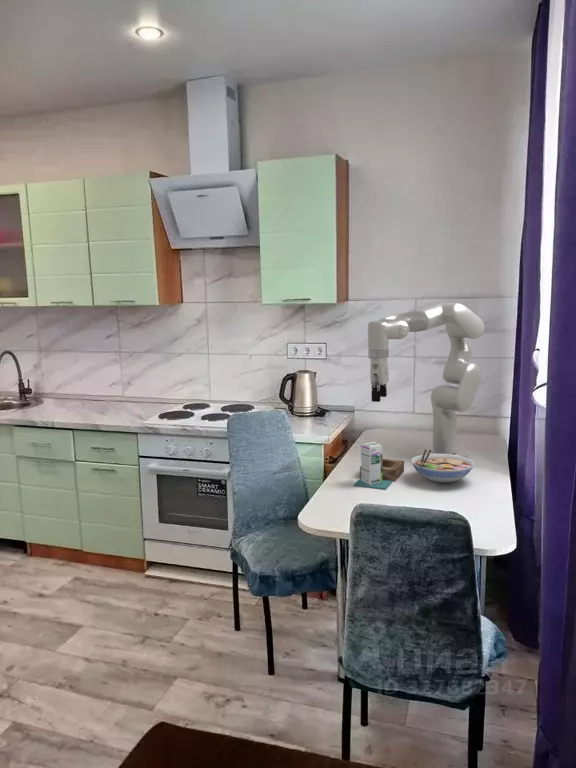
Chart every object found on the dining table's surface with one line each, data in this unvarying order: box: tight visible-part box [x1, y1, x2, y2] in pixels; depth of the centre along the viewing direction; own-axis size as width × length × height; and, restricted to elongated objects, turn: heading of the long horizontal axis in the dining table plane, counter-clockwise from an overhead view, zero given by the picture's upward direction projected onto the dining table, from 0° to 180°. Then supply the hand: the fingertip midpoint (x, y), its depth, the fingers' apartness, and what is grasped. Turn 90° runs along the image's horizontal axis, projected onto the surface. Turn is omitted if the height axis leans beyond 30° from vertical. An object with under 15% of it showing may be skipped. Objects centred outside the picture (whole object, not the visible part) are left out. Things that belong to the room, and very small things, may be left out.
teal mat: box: [353, 477, 393, 491], centre depth 220 cm, size 12×9×1 cm
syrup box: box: [360, 441, 383, 485], centre depth 220 cm, size 6×6×14 cm
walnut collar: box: [359, 458, 405, 483], centre depth 231 cm, size 14×14×4 cm
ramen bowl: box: [411, 449, 475, 484], centre depth 223 cm, size 25×23×8 cm
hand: (379, 399), depth 227 cm, fingers open, 9 cm apart
